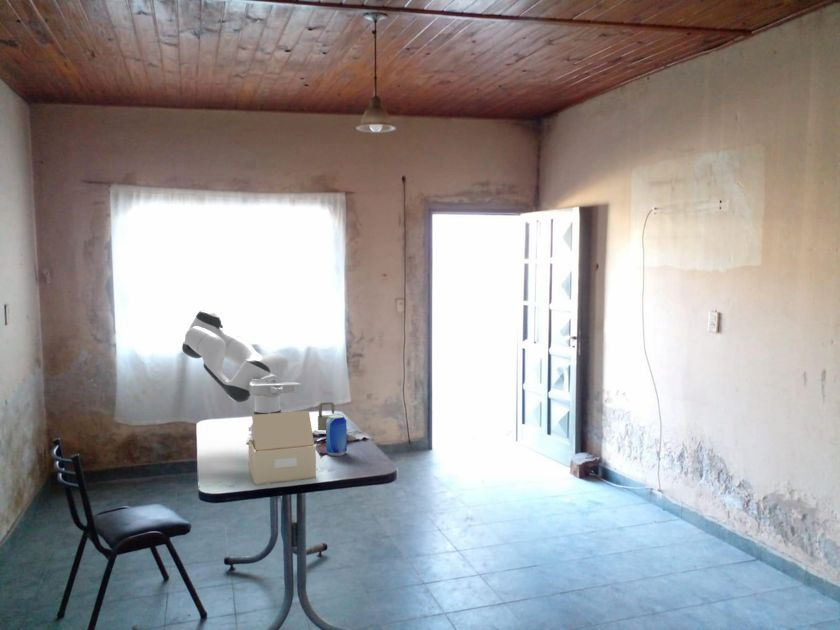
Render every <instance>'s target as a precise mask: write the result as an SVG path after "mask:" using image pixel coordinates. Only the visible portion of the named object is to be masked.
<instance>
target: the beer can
mask: <svg viewBox="0 0 840 630" xmlns="http://www.w3.org/2000/svg"><path fill="white" fill-rule="evenodd" d="M328 415H329V416H328V419H327V421H326V434H325V435H326V436H325V438H326V439H325V441H326V452H327V454H328V455H329V456H331V457H338V456H343V455H346V452H347V450H348V447H347V446H348V444H347V440H348V438H347V435H348V433H347V432H348V431H347V430H348V429H347V426H348V425H347V419H346V418H345V414H339V413H337V414H336V413H334V414H333V413H332V414H328Z"/></svg>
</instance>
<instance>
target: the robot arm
mask: <svg viewBox="0 0 840 630" xmlns="http://www.w3.org/2000/svg"><path fill="white" fill-rule="evenodd" d="M223 328H224V327H223V325H222V320H221V318H220V316H218V315H217V314H216V313H215V312H213V311H211V310H207V309H206V310H205V309H201V310H200V311H199V312H197V314H196V316H195V318H194V319H193V320H192V323H191V325H190V326H189V328H188V330H187V331H186V333H185V336H184V341H183V343H182V346H181V349H182V352H183V353H184V354H185V355H186V356H188V357H190V358H193V359H201V358H202V361H203V365H202V367H203V368H204V370H206V372H207V373H208V375H209V376H211V378H212V379H213V381H215V382H216V383H217V384H218V385H219V386H220V387H221V388H222V389H223V391H224V393H226V394H227V396H228V397H229V398H230V399H231V400H232V401H234V402H237V403H243V402H246V401H248V400H249V399H250V396H254V410H253V415H259V414H272V413H282V410H281V394H300V393H302V387H303V386H302V383H299V382H295V381H291V382H290V381H286V382H285V381H284V382H283V380H284V377H285V374H286V373H287V371H288V368H289V361H288V359H287V357H286V356H285V355H283V354H281V353H275V352H273V353H269V354H261V353H259V352H257V350H255V347H254V345H253V344H252V343H251V342H248V341H246V340H245V339H243V338H241V337H240V336H238V335H236V334H234V333H232V332H229V331H226V330H223ZM225 359H227V361H228V360H229V361H230V362H231V363H233V364H234V365H236V366H238V367H239V368H238V370H237V371H236V373H235V374H234V376H233V377H232V378H231V379H229V378H228V377H227V376H226V375H225V374H224V373H223V370H222V369H223V364H224V360H225ZM248 432H249V433H248V436H247V439H246V444H247V445H249V440H255V439H254V429H253V422H252V423H251V424H250V426H249V425H248Z"/></svg>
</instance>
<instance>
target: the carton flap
mask: <svg viewBox="0 0 840 630" xmlns="http://www.w3.org/2000/svg"><path fill="white" fill-rule="evenodd" d="M251 418H252V423H253V429H254V439H255V448H256V451H257V450H267V449H277V448H287V447H298V446H308V445H315V440H314V436H313V435H314V434H313V428H312V423H311V416H310V410H301V411H299V410H298V411H287V412H281V413H272V414H259V415H254V414H252V415H251Z"/></svg>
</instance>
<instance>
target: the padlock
mask: <svg viewBox="0 0 840 630" xmlns="http://www.w3.org/2000/svg"><path fill="white" fill-rule="evenodd" d="M323 406H331V414H332V415H333V414H335V411H336V410H335V409H336V407H335V402H332V401H322V402H319V404H318V416H317V431H318V430H326V421H327V419H328V416H329V415H330V414H328V415H327V414H326V415H325V414H324V415H323V409H322V408H323Z"/></svg>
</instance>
